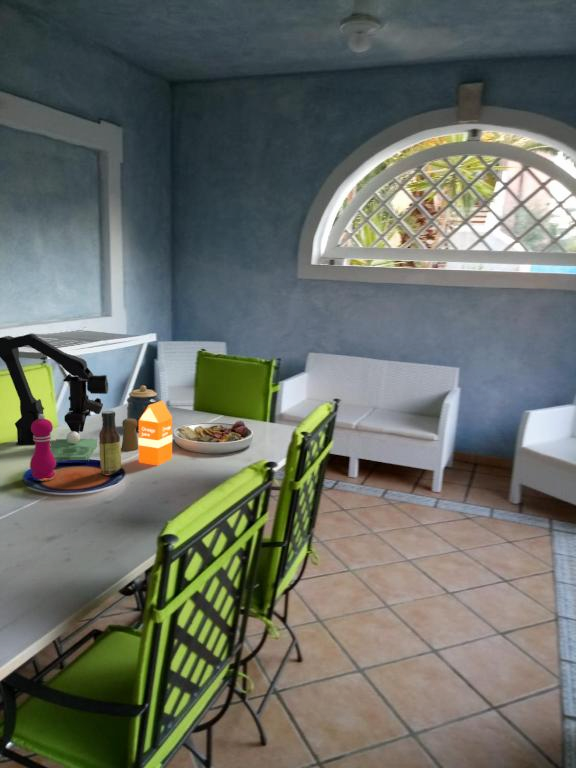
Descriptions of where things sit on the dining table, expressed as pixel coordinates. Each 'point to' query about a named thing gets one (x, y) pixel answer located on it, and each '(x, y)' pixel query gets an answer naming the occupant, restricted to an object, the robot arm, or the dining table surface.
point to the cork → (129, 435)
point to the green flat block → (73, 449)
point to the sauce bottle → (109, 444)
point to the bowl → (213, 437)
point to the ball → (73, 437)
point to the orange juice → (155, 435)
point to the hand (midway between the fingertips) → (79, 434)
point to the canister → (140, 402)
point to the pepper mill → (42, 449)
